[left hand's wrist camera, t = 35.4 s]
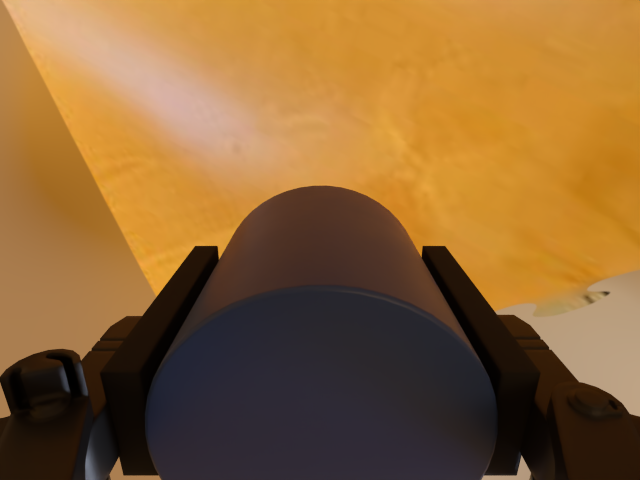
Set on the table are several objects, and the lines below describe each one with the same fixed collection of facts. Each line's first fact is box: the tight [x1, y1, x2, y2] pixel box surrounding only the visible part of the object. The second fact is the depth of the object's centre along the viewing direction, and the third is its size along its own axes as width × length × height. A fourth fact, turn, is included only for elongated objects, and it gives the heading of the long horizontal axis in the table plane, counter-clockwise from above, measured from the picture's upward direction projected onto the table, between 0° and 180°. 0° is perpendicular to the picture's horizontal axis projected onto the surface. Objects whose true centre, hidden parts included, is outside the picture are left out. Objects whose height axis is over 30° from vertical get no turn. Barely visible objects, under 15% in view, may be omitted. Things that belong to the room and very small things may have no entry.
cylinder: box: [145, 186, 498, 480], centre depth 12 cm, size 7×7×7 cm
